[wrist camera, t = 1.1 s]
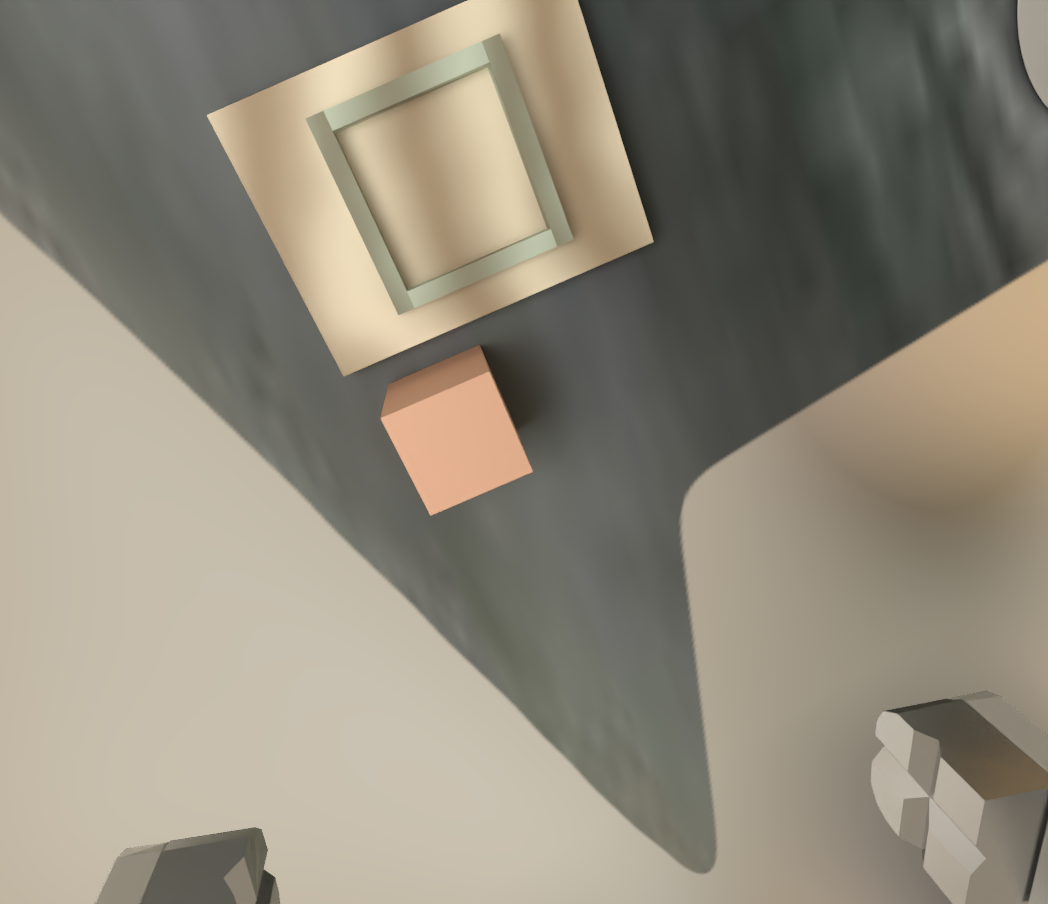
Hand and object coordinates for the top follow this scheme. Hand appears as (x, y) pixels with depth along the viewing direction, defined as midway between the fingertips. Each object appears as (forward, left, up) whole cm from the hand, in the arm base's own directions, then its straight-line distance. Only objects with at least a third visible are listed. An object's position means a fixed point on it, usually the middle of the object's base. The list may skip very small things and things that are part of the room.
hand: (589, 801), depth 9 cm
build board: (-2, -8, -27) cm, 28 cm away
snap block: (+2, +2, -27) cm, 27 cm away
